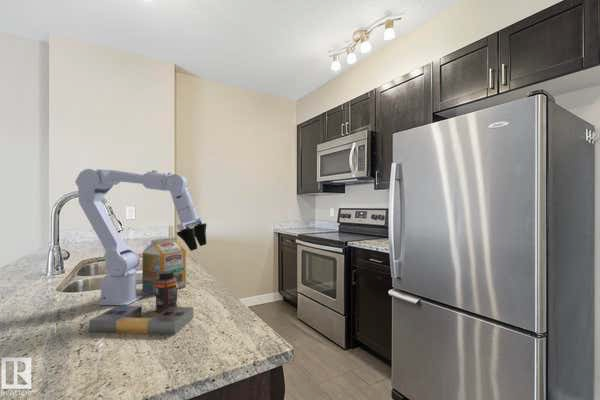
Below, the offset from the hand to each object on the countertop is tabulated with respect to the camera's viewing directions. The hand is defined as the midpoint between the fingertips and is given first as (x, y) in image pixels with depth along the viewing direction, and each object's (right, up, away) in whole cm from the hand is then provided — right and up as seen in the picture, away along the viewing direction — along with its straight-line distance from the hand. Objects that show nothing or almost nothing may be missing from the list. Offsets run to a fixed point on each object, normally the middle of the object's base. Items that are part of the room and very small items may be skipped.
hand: (198, 247), depth 95 cm
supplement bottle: (-6, -17, -10) cm, 21 cm away
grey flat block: (-7, -17, -21) cm, 28 cm away
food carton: (-17, -18, +11) cm, 27 cm away
